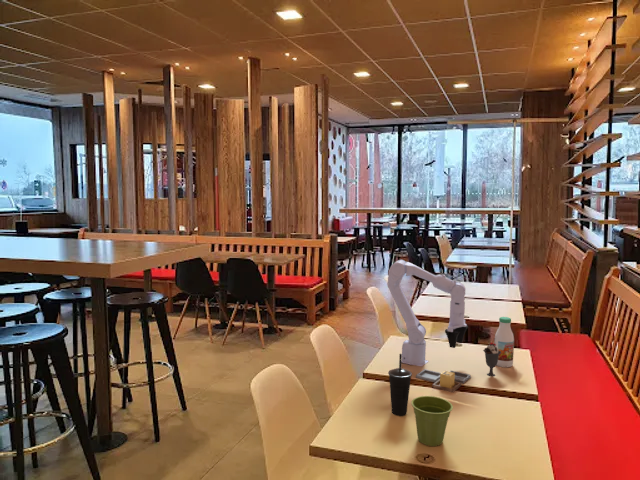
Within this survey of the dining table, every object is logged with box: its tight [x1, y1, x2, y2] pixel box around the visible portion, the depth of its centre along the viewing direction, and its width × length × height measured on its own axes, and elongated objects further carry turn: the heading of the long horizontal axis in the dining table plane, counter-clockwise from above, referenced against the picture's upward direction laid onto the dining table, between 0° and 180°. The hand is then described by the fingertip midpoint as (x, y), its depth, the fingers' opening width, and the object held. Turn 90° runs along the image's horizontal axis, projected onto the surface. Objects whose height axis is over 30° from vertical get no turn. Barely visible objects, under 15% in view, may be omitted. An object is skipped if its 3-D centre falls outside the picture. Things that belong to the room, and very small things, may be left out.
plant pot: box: [411, 395, 454, 447], centre depth 150 cm, size 12×12×11 cm
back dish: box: [449, 370, 472, 385], centre depth 198 cm, size 8×8×2 cm
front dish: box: [431, 379, 462, 393], centre depth 190 cm, size 8×8×2 cm
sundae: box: [482, 337, 501, 377], centre depth 201 cm, size 7×7×15 cm
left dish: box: [415, 368, 442, 383], centre depth 199 cm, size 8×8×2 cm
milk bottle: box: [493, 316, 515, 368], centre depth 213 cm, size 8×8×20 cm
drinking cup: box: [387, 353, 413, 417], centre depth 168 cm, size 8×8×20 cm
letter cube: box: [440, 370, 455, 388], centre depth 189 cm, size 4×4×5 cm
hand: (456, 344), depth 210 cm, fingers open, 7 cm apart
